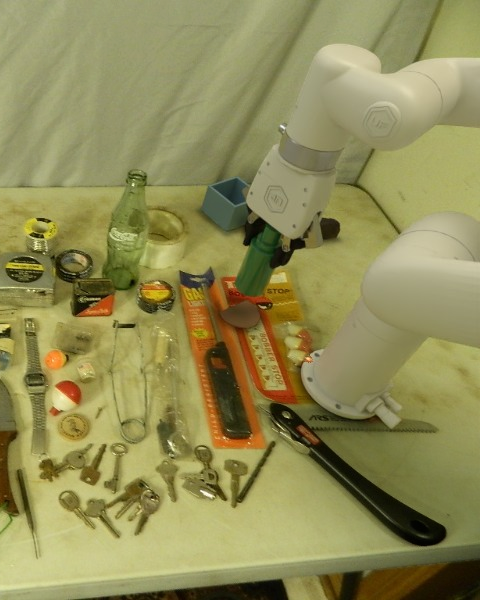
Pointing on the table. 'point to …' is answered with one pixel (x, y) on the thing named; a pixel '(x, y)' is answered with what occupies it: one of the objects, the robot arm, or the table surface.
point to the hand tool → (328, 228)
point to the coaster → (241, 315)
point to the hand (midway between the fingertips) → (264, 253)
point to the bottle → (258, 262)
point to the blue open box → (226, 203)
